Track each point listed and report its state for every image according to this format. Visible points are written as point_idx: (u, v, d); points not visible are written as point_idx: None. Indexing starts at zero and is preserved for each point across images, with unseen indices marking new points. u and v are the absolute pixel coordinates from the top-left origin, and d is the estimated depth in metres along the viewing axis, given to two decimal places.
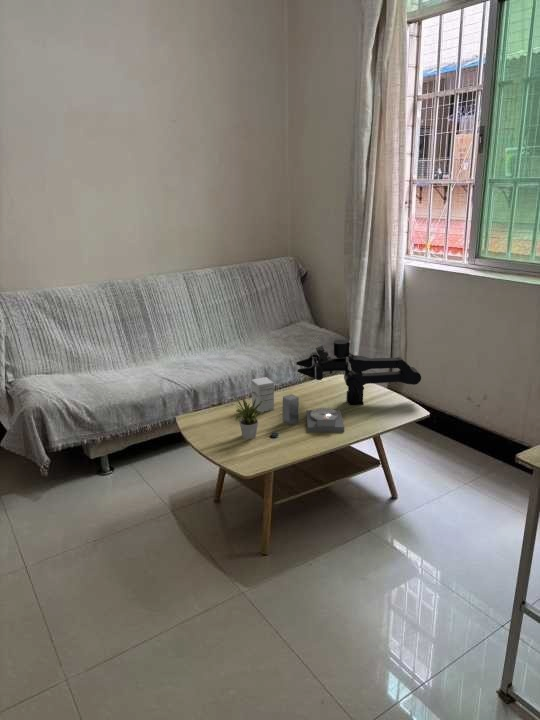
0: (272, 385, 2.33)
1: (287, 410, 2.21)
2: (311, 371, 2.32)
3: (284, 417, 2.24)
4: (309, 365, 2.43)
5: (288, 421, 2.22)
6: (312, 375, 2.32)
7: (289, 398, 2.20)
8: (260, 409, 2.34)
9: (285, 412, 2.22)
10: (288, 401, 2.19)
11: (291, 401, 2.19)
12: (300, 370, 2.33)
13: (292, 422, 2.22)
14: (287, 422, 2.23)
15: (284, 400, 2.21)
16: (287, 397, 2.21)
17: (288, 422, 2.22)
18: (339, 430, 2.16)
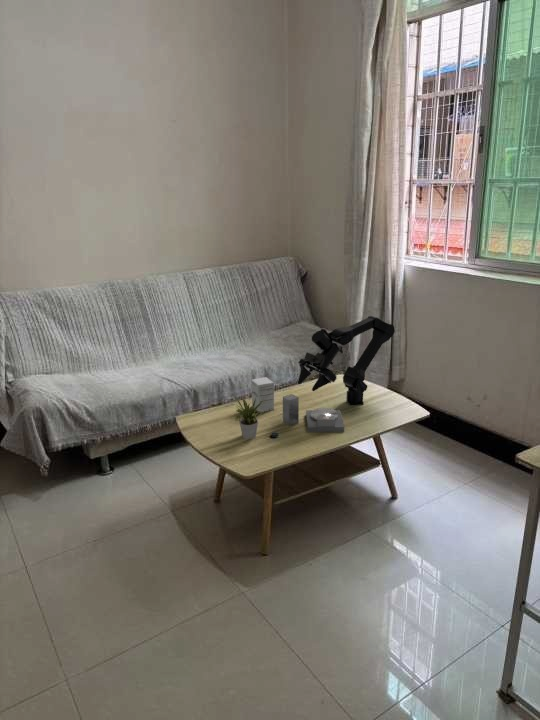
0: (272, 385, 2.33)
1: (287, 410, 2.21)
2: (322, 380, 2.21)
3: (284, 417, 2.24)
4: (307, 374, 2.30)
5: (288, 421, 2.22)
6: (326, 382, 2.21)
7: (289, 398, 2.20)
8: (260, 409, 2.34)
9: (285, 412, 2.22)
10: (288, 401, 2.19)
11: (291, 401, 2.19)
12: (314, 388, 2.20)
13: (292, 422, 2.22)
14: (287, 422, 2.23)
15: (284, 400, 2.21)
16: (287, 397, 2.21)
17: (288, 422, 2.22)
18: (339, 430, 2.16)
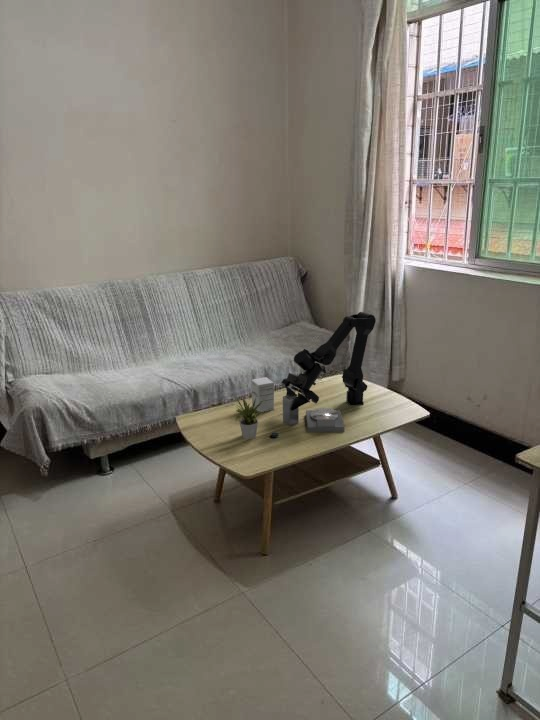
0: (272, 385, 2.33)
1: (287, 410, 2.21)
2: (301, 399, 2.20)
3: (284, 417, 2.24)
4: None
5: (288, 421, 2.22)
6: (305, 401, 2.20)
7: (289, 398, 2.20)
8: (260, 409, 2.34)
9: (285, 412, 2.22)
10: (288, 401, 2.19)
11: (291, 401, 2.19)
12: (293, 407, 2.20)
13: (292, 422, 2.22)
14: (287, 422, 2.23)
15: (284, 400, 2.21)
16: (287, 397, 2.21)
17: (288, 422, 2.22)
18: (339, 430, 2.16)
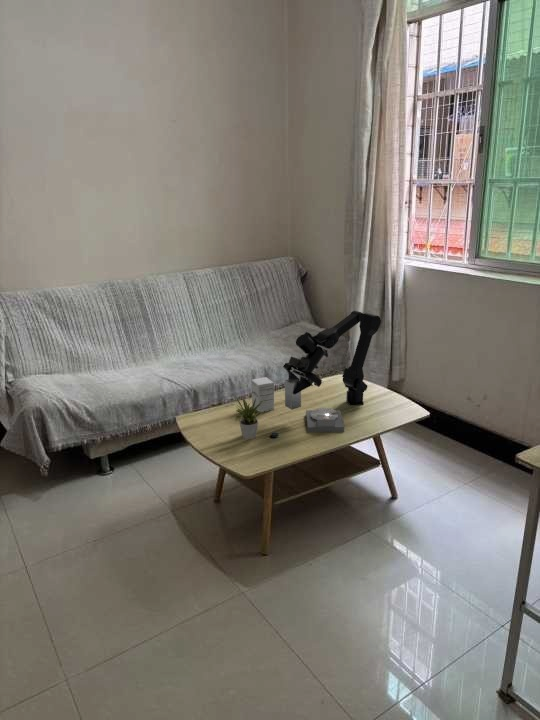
0: (272, 385, 2.33)
1: (289, 394, 2.19)
2: (304, 383, 2.18)
3: (286, 401, 2.21)
4: None
5: (290, 406, 2.20)
6: (308, 385, 2.18)
7: (291, 382, 2.18)
8: (260, 409, 2.34)
9: (287, 396, 2.20)
10: (290, 385, 2.17)
11: (293, 385, 2.17)
12: (296, 391, 2.17)
13: (294, 406, 2.20)
14: (289, 406, 2.20)
15: (286, 384, 2.19)
16: (289, 381, 2.19)
17: (290, 406, 2.20)
18: (339, 430, 2.16)
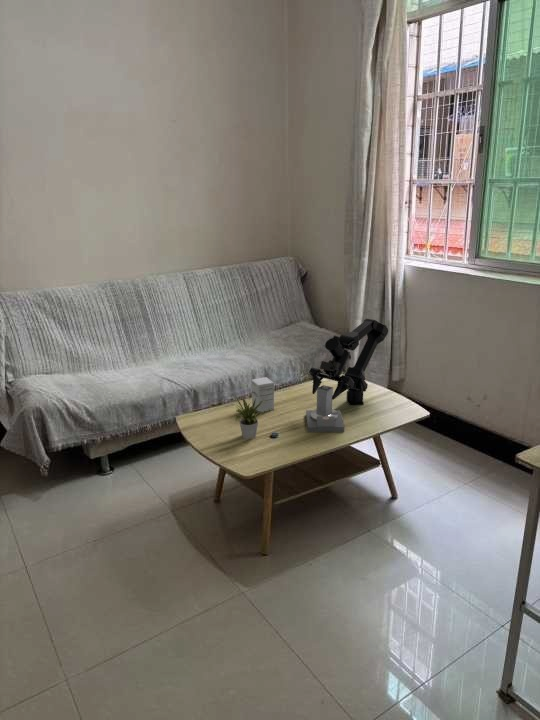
0: (272, 385, 2.33)
1: (323, 401, 2.20)
2: (341, 387, 2.19)
3: (318, 409, 2.23)
4: (319, 382, 2.27)
5: (323, 413, 2.22)
6: (344, 389, 2.20)
7: (325, 389, 2.20)
8: (260, 409, 2.34)
9: (320, 403, 2.22)
10: (325, 392, 2.19)
11: (328, 392, 2.19)
12: (334, 396, 2.18)
13: (327, 413, 2.22)
14: (323, 413, 2.22)
15: (319, 391, 2.20)
16: (322, 388, 2.20)
17: (324, 413, 2.22)
18: (339, 430, 2.16)
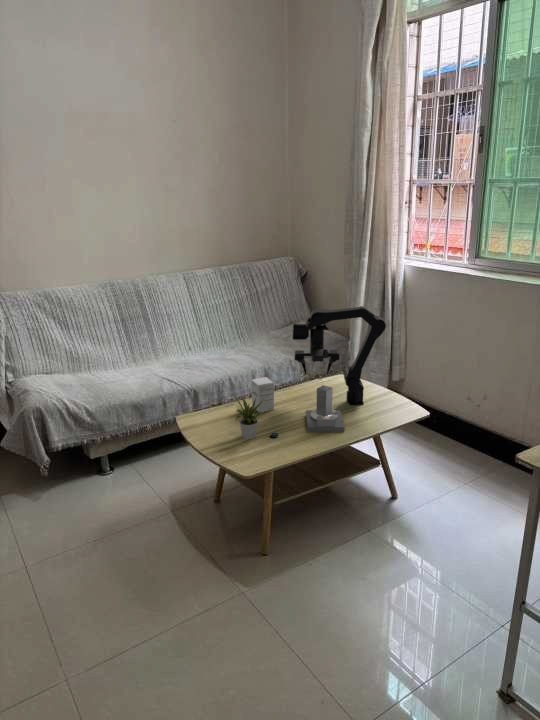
0: (272, 385, 2.33)
1: (323, 402, 2.20)
2: None
3: (318, 409, 2.23)
4: None
5: (323, 413, 2.22)
6: None
7: (324, 389, 2.19)
8: (260, 409, 2.34)
9: (320, 404, 2.22)
10: (324, 392, 2.19)
11: (327, 392, 2.19)
12: None
13: (327, 413, 2.22)
14: (322, 413, 2.22)
15: (319, 391, 2.20)
16: (322, 388, 2.20)
17: (324, 413, 2.22)
18: (339, 430, 2.16)
